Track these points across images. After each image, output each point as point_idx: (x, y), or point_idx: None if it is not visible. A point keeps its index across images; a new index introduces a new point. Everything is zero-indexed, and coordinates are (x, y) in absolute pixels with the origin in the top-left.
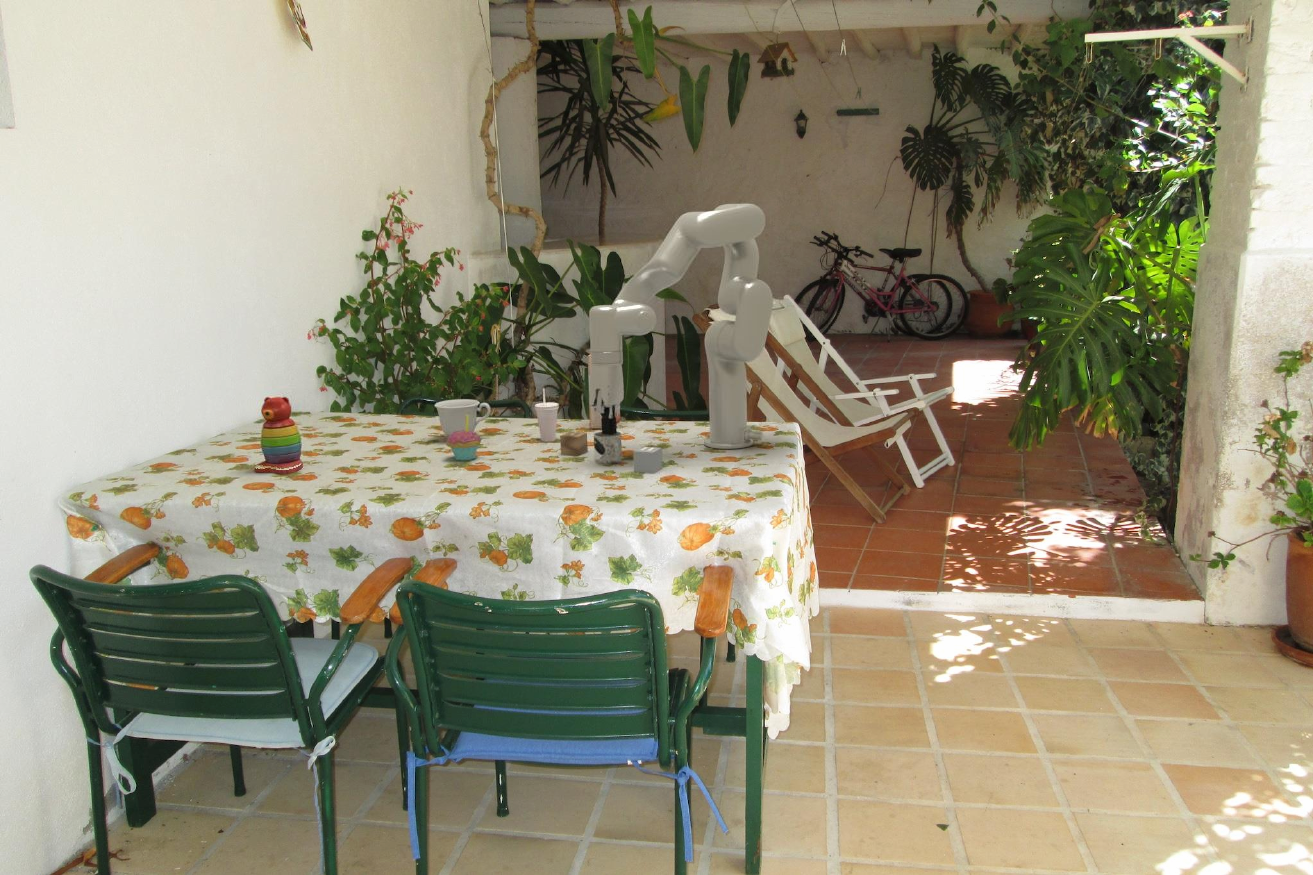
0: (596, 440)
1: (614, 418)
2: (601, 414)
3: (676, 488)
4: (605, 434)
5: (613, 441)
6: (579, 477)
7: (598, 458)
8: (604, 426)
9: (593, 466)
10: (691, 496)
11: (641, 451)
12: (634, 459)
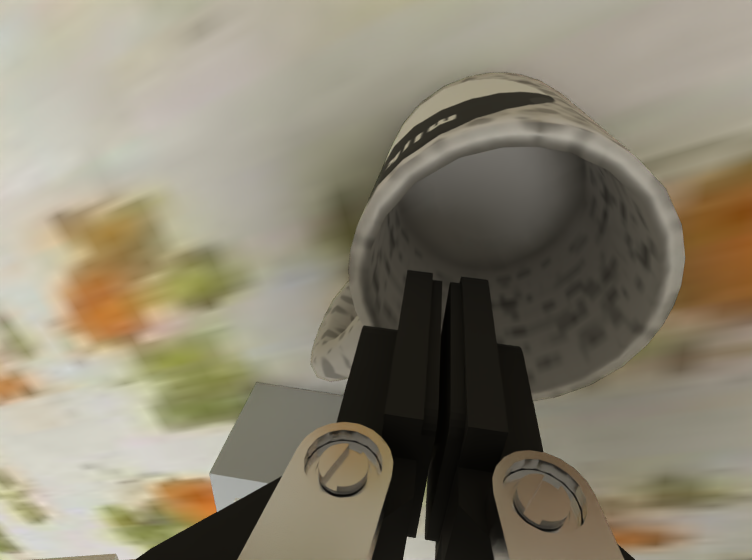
0: (377, 183)
1: (436, 542)
2: (214, 524)
3: (111, 525)
4: (638, 212)
5: (340, 355)
6: (20, 152)
7: (391, 147)
8: (353, 369)
9: (293, 136)
10: (62, 555)
11: (220, 505)
12: (231, 435)
